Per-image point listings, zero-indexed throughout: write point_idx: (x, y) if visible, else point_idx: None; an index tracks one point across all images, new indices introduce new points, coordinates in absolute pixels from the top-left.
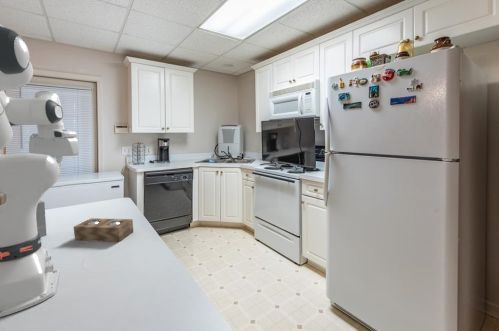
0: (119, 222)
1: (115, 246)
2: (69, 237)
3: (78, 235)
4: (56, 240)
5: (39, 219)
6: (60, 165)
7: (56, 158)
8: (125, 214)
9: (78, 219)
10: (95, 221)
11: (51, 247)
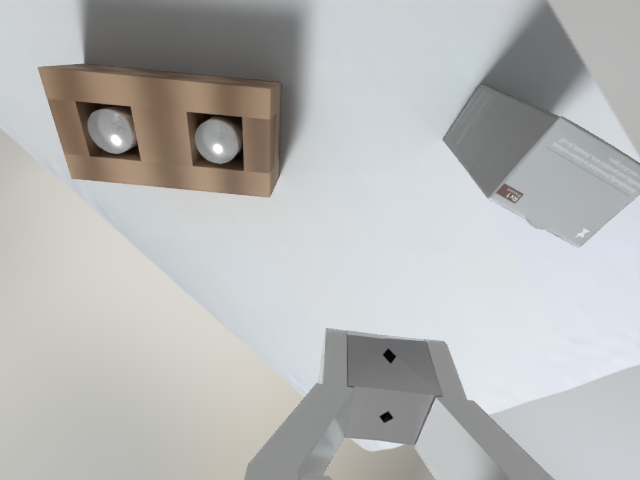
0: (95, 140)
1: (63, 15)
2: (328, 114)
3: (258, 83)
4: (362, 84)
5: (477, 140)
6: (320, 375)
7: (300, 476)
8: (266, 322)
9: (414, 288)
10: (217, 157)
11: (331, 6)
